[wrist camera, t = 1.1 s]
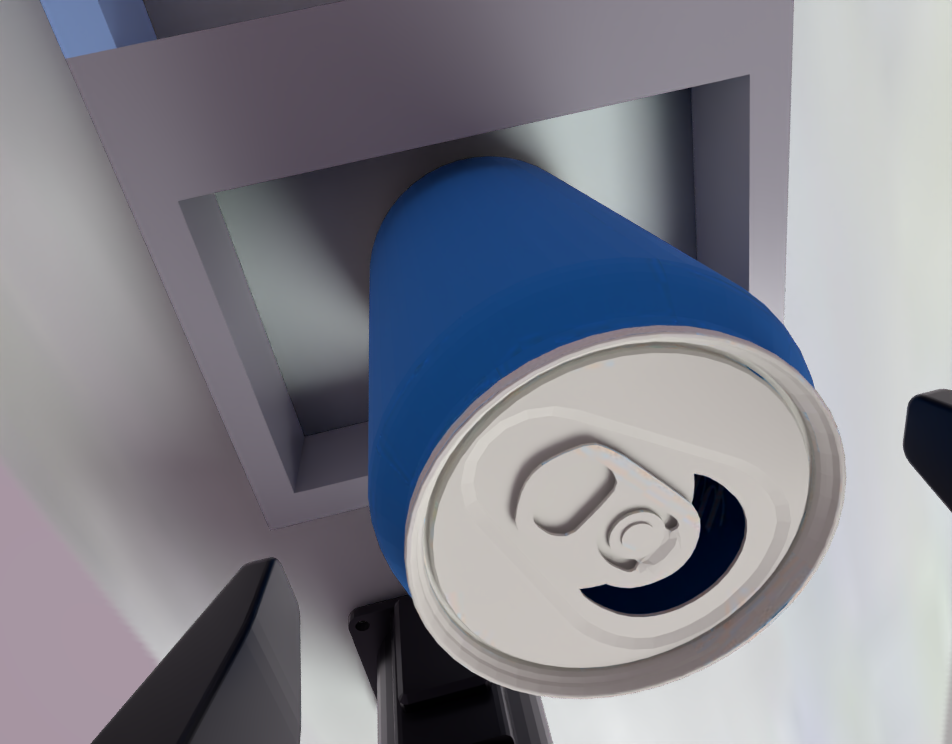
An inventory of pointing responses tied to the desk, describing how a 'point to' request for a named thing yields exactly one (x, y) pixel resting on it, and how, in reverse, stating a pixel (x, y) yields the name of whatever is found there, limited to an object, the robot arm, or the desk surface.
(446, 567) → the beverage can
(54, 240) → the desk surface
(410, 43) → the slot holder
